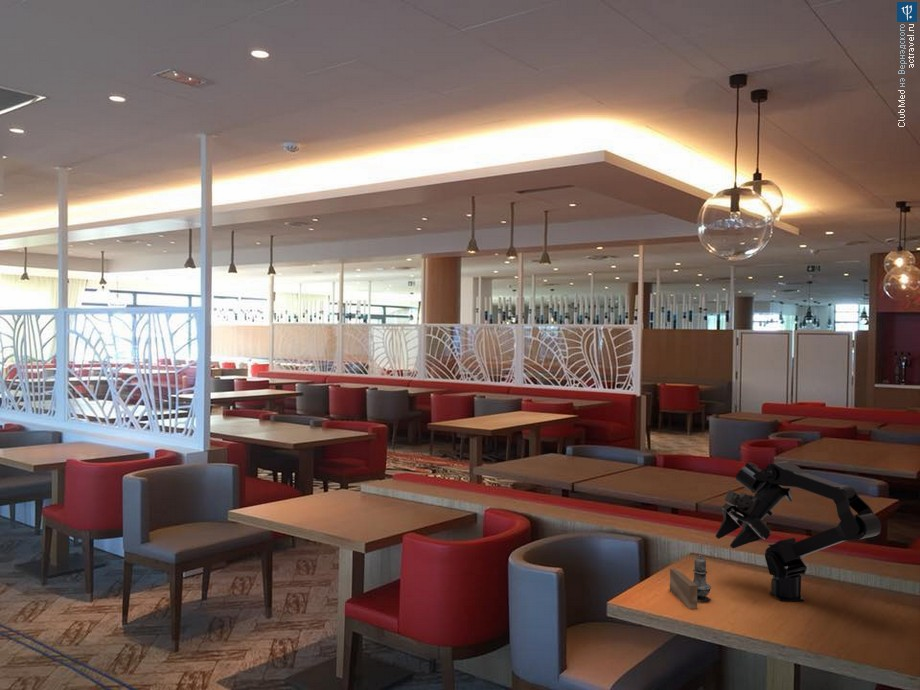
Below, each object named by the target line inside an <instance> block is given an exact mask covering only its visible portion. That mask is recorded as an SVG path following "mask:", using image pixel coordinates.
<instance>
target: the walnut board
mask: <svg viewBox="0 0 920 690" xmlns="http://www.w3.org/2000/svg"><path fill="white" fill-rule="evenodd" d="M669 591H670V592H671V593H672V594H673V595H674V596H675V597H676V598H677V599H678V600H679V599H680V600H679V601H680V602H681V601H682V602H683V603H682V602H681V603H682V604H683V605H685V607H687V609H689V610H698V602H697V585H696V584H695V583H694V582H693V580H691V578H689V577H688V576H687V575H686V574H685V573H683V572H682V571H681V570H680V569H679V568H669Z"/></svg>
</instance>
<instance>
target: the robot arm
mask: <svg viewBox="0 0 920 690" xmlns="http://www.w3.org/2000/svg"><path fill="white" fill-rule="evenodd" d="M735 480H736V482H737V483H739V484H740V485H741V486H743V487H744V488H745V489H747V490H748V491H749V492H751V493H752V494H754V495H751V494H750V495H749V494H746V493H744V492H742V493H741V492H740V494H739V493H736V492H734V491H732V490H731V489H728V490H727V493H726V495H725V497H724V501H725V503H724V504H723V506H722V507H721V509H722V511H721V512H722V516H723V518H722V519H723V520H722V522H721V524H720V526H719V528H718V530H717V532H716V534H715V538H716V539H721V538H724V537H725V536H727V535H729V534H730V533H732V532H734V531H736V530H737V529H740V528H741V530H740V531H739V533H738V534H737V535H736V536H735V538H733V540H732V541H731V543H730V545H729V547H731V549H735V548H738V547H741V546H744V545H747V544H750V543H754V542H758V541H762V540H763V539H764V540H768V538H769V537H770V536H771V532H772V530H771V528H769V526H768V525H766V523H765V522H764V521H763V519H765V517H767V516H769V517H771V516H772V515H773V512H772V510H773V509H775V507H776V506H777V505H778V504H779V503H780V502H781V501H782V500H783V499H786V500H788V501H789V502H792V501H793V497H792V493H793V492H792V489H791V488H790V487H794V488H798V489H801V490H804V491H806V492H808V493H812V494H815V495H818V496H820V497H823V498H826V499H830V500H832V501H833V503H834V504H835V506H836V512H837V516H838V519H839V520H840V521H839V522H838V523H837V525H835V526H834V527H832V528H830V529H827V530H824V531H821V532H819V533H817V534H814V535H812V536H809V537H806V538H804V539H801V540H798V541H796V537H791V538H790V537H789V538H786V539H781V540H778V541H776V542H774V543H770V544H768V547H767V548H765V553H764V558H765V562H766V565H767V569H768V570H767V571H768V572H769V575H771V576H772V578H771V579H770V580H771V581H770V584H771V587H770V588H771V589H770V591H769V594H770V595H771V596H773V597H774V598H776V599H777V600H779V601H780V602H804V601H805V598H803V597H802V575H805V574H806V573H807V569H808V567H807V565H806V564H805V562H804V561H803V559H804V558H805V557H806V556H808V555H811V554H814V553H816V552H819V551H823V550H824V549H827V548H830V547H832V546H835V545H838V544H840V543H844V542H850V541H855V540H857V541H858V540H863V539H866V538H873V537H875V536H878V535H880V534H881V531H882V530H881V529H882V523H881V521H880V520H881V519H880V518H879V517H878V516H877V515H876V514H875V513H874V511H873V510H872V508H871V506H870V505H869V504H868V503H866V502H865V501H864V499H862V498H861V497H860V496H859V495H858V493H857V491H856V490H855V488H854V487H852V486H850V485H844V484H841V483H838V482H835V481H832V480H829V479H825V478H823V477H820V476H817V475H814V474H811V473H808V472H806V471H804V470H802V469H801V467H799V466H798V465H796V464H794V463H792V462H790V461H786V460H785V461H777V462H770V463H768V464H767V465H766V467H765V469H763V470H762V469H760V468H759V467H758V466H757V465H756V464H755V463H754V462H752V461H751V462H746V463H745V465H744V466H743V467H742V468H741V469H740V470H739V471H738V472H737V473H736V475H735ZM786 487H787V488H786ZM852 510H854V512H856V513H857V514H854V513H853V512H852ZM741 526H742V527H741Z"/></svg>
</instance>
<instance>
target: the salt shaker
mask: <svg viewBox="0 0 920 690" xmlns="http://www.w3.org/2000/svg"><path fill="white" fill-rule="evenodd" d="M692 572H693V580H692V581H693V582H694V583H695V584H696V585H697V603H699V602H702V604H703V602H706V603H709V602H710V601H711V599H710V598H709V597H708V595H709V594H710V593H711V589H712V585H710V584H709V583H708V582H707V574H708V571H707V561H706V559H705V558H704V557H702V554H701V553H700V554H699V555H698V557H696V558H695V559H694V569H693V570H692Z"/></svg>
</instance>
